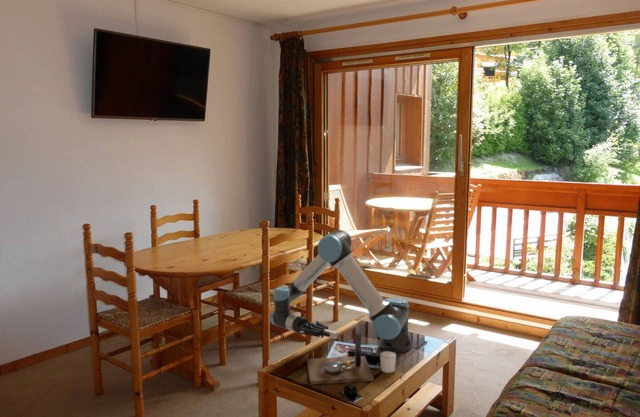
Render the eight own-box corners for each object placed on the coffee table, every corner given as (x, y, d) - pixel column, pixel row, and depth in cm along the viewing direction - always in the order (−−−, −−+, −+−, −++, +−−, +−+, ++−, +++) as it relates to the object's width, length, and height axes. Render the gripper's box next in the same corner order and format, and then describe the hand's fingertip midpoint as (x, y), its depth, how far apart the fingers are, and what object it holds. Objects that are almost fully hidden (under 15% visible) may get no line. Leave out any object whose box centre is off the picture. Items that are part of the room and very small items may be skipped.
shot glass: (376, 367, 211) (376, 352, 210) (390, 364, 213) (390, 349, 212) (385, 374, 204) (385, 359, 203) (399, 371, 207) (399, 355, 206)
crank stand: (364, 359, 219) (364, 355, 219) (373, 380, 199) (373, 376, 199) (307, 362, 217) (307, 358, 216) (310, 384, 197) (310, 380, 197)
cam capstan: (328, 375, 200) (328, 343, 198) (321, 368, 206) (321, 337, 204) (364, 367, 206) (364, 336, 204) (356, 360, 213) (356, 330, 211)
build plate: (333, 393, 191) (333, 382, 191) (347, 387, 196) (347, 376, 195) (354, 406, 182) (354, 394, 181) (368, 399, 186) (368, 388, 186)
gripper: (306, 327, 237) (345, 339, 222) (288, 335, 227) (327, 348, 212) (306, 312, 236) (345, 323, 221) (287, 320, 226) (327, 332, 211)
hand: (336, 335), depth 216 cm, fingers closed
